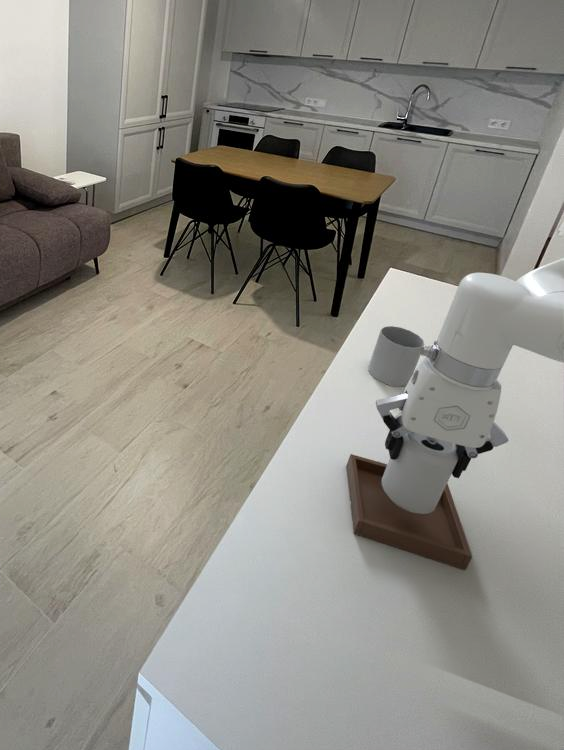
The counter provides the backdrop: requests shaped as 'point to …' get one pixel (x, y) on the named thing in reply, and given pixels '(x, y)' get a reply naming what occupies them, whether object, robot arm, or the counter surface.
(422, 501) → the can
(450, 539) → the tray
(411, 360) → the cup
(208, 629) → the counter surface
